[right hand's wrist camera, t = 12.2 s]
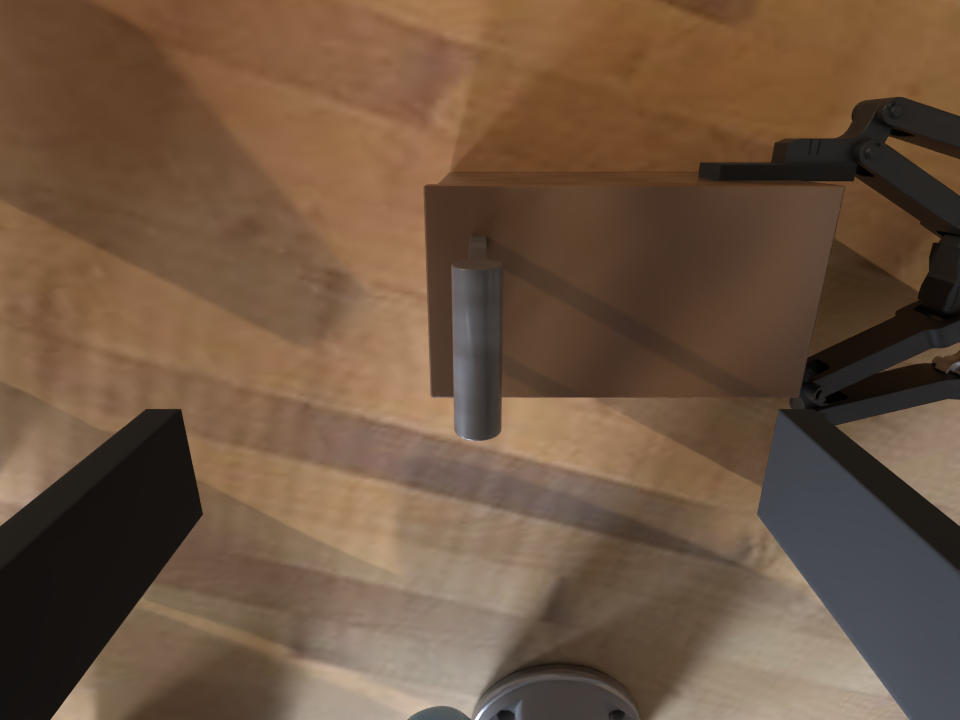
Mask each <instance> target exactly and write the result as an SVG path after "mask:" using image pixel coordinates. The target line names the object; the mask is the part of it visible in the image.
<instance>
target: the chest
mask: <svg viewBox="0 0 960 720" xmlns="http://www.w3.org/2000/svg"><path fill="white" fill-rule="evenodd" d="M698 176H699V172H449V174H448V175H447V176H446V177H445V178H444V179H443V180H442V181H441V182H440V183H439V184H824V183H816V182H807V181H799V180H712V179H706V178H700V177H698Z"/></svg>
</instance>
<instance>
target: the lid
mask: <svg viewBox="0 0 960 720" xmlns="http://www.w3.org/2000/svg"><path fill="white" fill-rule="evenodd" d="M844 190H845V187H844V186H840V185H832V184H427V185H425V186H424V215H425V244H426V273H427V303H428V332H429V361H430V390H431V397H454V430H455V432H456V434H457V435H458V436H460V437H461V438H464V439H467V440H473V441H482V440H488V439H492V438H494V437H496V436H497V435H498V434H499V433H500V432H501V411H502V397H637V398H798V397H799V394H800V389H801V385H802V380H803V376H804V371H805V367H806V362H807V358H808V353H809V349H810V344H811V340H812V335H813V330H814V326H815V321H816V317H817V312H818V308H819V303H820V299H821V294H822V290H823V285H824V281H825V276H826V271H827V267H828V262H829V258H830V253H831V249H832V244H833V240H834V235H835V231H836V226H837V221H838V217H839V212H840V208H841V203H842V199H843V194H844Z"/></svg>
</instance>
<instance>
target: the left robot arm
mask: <svg viewBox="0 0 960 720" xmlns="http://www.w3.org/2000/svg"><path fill="white" fill-rule="evenodd" d="M888 136H890V137H893V138H896V139H900V140H903V141H906V142H909V143H912V144H915V145H918V146H921V147H924V148H927V149H930V150H933V151H936V152H939V153H942V154H946V155H949V156H952V157H955V158H958V159H960V116H957V115H954V114H951V113H948V112H945V111H942V110H939V109H936V108H933V107H930V106H927V105H924V104H921V103H918V102H915V101H912V100H909V99H906V98H903V97H893V98H884V99H874V100H865V101H862V102H860V103H858V104H857V105H856V106H855V108H854V109H853V111H852V123H851V125H850V127H849V128H848V130H847V131H846V132H845V133H844V134H843V135H842V136H840V137H838V138H834V139H783V140H781V141H778V142H776V143H775V144H774V150H773V156H772V162H771V163H703V162H700V168H699V176H698V177H700V178H706V179H712V180H799V181H854V177H857V178H858V179H860V180H861V181H862V182H864V183H865V184H867V185H868V186H870V187H871V188H873V189H874V190H876V191H877V192H879V193H880V194H882V195H883V196H884V197H886V198H887V199H889V200H890V201H892V202H893V203H895V204H896V205H898V206H899V207H901V208H902V209H904V210H905V211H906V212H908V213H909V214H911V215H912V216H914V217H915V218H917V219H918V220H920V221H921V223H920V224H921V225H922V226H924V227H925V228H927V229H928V230H929V231H931V232H932V233H934V234H935V235H937V236H938V237H940V238H941V240H940V241H939V243H933V245H932V249H931V253H930V256H929V272H928V274H927V276H926V278H925V279H924V281H923V283H922V285H921V288H920V291H919V295H918V298H917V299H920V300H918V301H916V302H914V303H912V304H909V305H907V306H905V307H903V308H901V309H899V310H898V311H896V315H895V317H893V318H891V319H889V320H887V321H885V322H883V323H880V324H878V325H876V326H874V327H872V328H870V329H868V330H866V331H864V332H861V333H859V334H857V335H855V336H853V337H851V338H849V339H847V340H844V341H842V342H840V343H838V344H836V345H834V346H832V347H830V348H827V349H825V350H823V351H821V352H819V353H817V354H815V355H813V356H811V357H808V358H807V362H806V367H805V371H804V376H803V380H802V385H801V389H800V394H799V397H798V398H791V399H790V402H789V404H790V407H791V408H792V409H814V410H815V411H817V412H818V413H819V414H820V415H822V416H823V417H824V418H825V419H827V420H828V421H829V422H830V423H832V424H833V425H839V424H843V423H847V422H851V421H856V420H860V419H864V418H868V417H873V416H877V415H881V414H885V413H890V412H894V411H898V410H902V409H907V408H911V407H915V406H919V405H924V404H928V403H932V402H936V401H941V400H945V399H959V400H960V350H959V351H958V352H957V353H956V354H953V355H949V356H945V357H941V356H937V357H935V358H934V359H933V360H932V364H927V363H924V364H915V365H910V366H905V367H901V368H897V369H893V370H889V371H885V372H881V373H878V372H880V371H882V370H885V369H887V368H889V367H891V366H893V365H896V364H898V363H900V362H902V361H904V360H906V359H909V358H911V357H913V356H915V355H917V354H920V353H922V352H924V351H926V350H928V349H931V348H945V347H949V346H951V345H953V344H956V343H958V342H960V196H959V195H958V194H956V193H955V192H954V191H952V190H951V189H949V188H948V187H946V186H945V185H944V184H942V183H941V182H939V181H938V180H936V179H935V178H934V177H932V176H931V175H929V174H928V173H927V172H925V171H924V170H922V169H921V168H919V167H918V166H917V165H915V164H914V163H912V162H911V161H909V160H908V159H907V158H905V157H904V156H902V155H901V154H900V153H898V152H897V151H895V150H894V149H892V148H891V147H890V146H888V145H887V144H885V141H886V139H887V138H888ZM408 720H640V717H639V714H638V710H637V707H636V704H635V702H634V700H633V698H632V697H631V695H630V694H629V693H628V691H627V690H626V689H625V688H624V687H623V686H622V685H621V684H619V683H618V682H617V681H615V680H614V679H612V678H611V677H609V676H607V675H605V674H603V673H601V672H598V671H596V670H593V669H589V668H586V667H581V666H576V665H565V664H553V665H542V666H536V667H531V668H528V669H524V670H521V671H518V672H516V673H513V674H511V675H509V676H507V677H505V678H503V679H502V680H500V681H499V682H497V683H496V684H494V685H493V686H492V687H491V688H489V689H488V690H487V691H486V692H485V694H484V695H483V696H482V697H481V698H480V700H479V701H478V703H477V705H476V707H475V709H474V712H473V715H472V719H470V718H469V717H467V716H466V715H465V714H464V713H462V712H461V711H459V710H457V709H455V708H452V707H447V706H436V707H431V708H427V709H425V710H422V711H420V712H417V713H416V714H414V715H413V716H411V717H410V718H409V719H408Z"/></svg>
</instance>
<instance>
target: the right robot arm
mask: <svg viewBox="0 0 960 720" xmlns="http://www.w3.org/2000/svg"><path fill="white" fill-rule="evenodd" d="M202 515H203V512H202V507H201V502H200V498H199V493H198V488H197V483H196V478H195V474H194V469H193V464H192V459H191V454H190V450H189V445H188V440H187V435H186V430H185V426H184V421H183V416H182V411H181V409H146V410H145V411H143V412H142V413H141V414H140V415H138V416H137V417H136V418H135V419H133V420H132V421H131V422H130V423H128V424H127V425H126V426H125V427H123V428H122V429H121V430H120V431H118V432H117V433H116V434H115V435H113V436H112V437H111V438H110V439H108V440H107V441H106V442H105V443H103V444H102V445H101V446H100V447H98V448H97V449H96V450H95V451H93V452H92V453H91V454H90V455H89V456H87V457H86V458H85V459H84V460H82V461H81V462H80V463H79V464H77V465H76V466H75V467H74V468H72V469H71V470H70V471H69V472H67V473H66V474H65V475H64V476H62V477H61V478H60V479H59V480H57V481H56V482H55V483H54V484H52V485H51V486H50V487H49V488H47V489H46V490H45V491H44V492H42V493H41V494H40V495H39V496H37V497H36V498H35V499H34V500H32V501H31V502H30V503H29V504H27V505H26V506H25V507H24V508H23V509H21V510H20V511H19V512H18V513H16V514H15V515H14V516H13V517H11V518H10V519H9V520H8V521H6V522H5V523H4V524H3V525H1V526H0V720H51V718H52V717H53V716H54V714H55V713H56V711H57V710H58V709H59V707H60V706H61V705H62V703H63V702H64V701H65V699H66V698H67V697H68V695H69V694H70V693H71V691H72V690H73V689H74V687H75V686H76V685H77V683H78V682H79V681H80V679H81V678H82V676H83V675H84V674H85V672H86V671H87V670H88V668H89V667H90V666H91V664H92V663H93V662H94V660H95V659H96V658H97V656H98V655H99V654H100V652H101V651H102V650H103V648H104V647H105V645H106V644H107V643H108V641H109V640H110V639H111V637H112V636H113V635H114V633H115V632H116V631H117V629H118V628H119V627H120V625H121V624H122V623H123V621H124V620H125V619H126V617H127V616H128V615H129V613H130V612H131V610H132V609H133V608H134V606H135V605H136V604H137V602H138V601H139V600H140V598H141V597H142V596H143V594H144V593H145V592H146V590H147V589H148V588H149V586H150V585H151V584H152V582H153V581H154V580H155V578H156V577H157V575H158V574H159V573H160V571H161V570H162V569H163V567H164V566H165V565H166V563H167V562H168V561H169V559H170V558H171V557H172V555H173V554H174V553H175V551H176V550H177V549H178V547H179V546H180V544H181V543H182V542H183V540H184V539H185V538H186V536H187V535H188V534H189V532H190V531H191V530H192V528H193V527H194V526H195V524H196V523H197V522H198V520H199V519H200V518H201V516H202ZM757 515H758V516H759V518H760V519H761V520H762V522H763V523H764V524H765V526H766V527H767V528H768V530H769V531H770V532H771V534H772V535H773V536H774V538H775V539H776V540H777V542H778V543H779V544H780V546H781V547H782V549H783V550H784V551H785V553H786V554H787V555H788V557H789V558H790V559H791V561H792V562H793V563H794V565H795V566H796V567H797V569H798V570H799V571H800V573H801V574H802V575H803V577H804V578H805V580H806V581H807V582H808V584H809V585H810V586H811V588H812V589H813V590H814V592H815V593H816V594H817V596H818V597H819V598H820V600H821V601H822V602H823V604H824V605H825V606H826V608H827V609H828V610H829V612H830V613H831V615H832V616H833V617H834V619H835V620H836V621H837V623H838V624H839V625H840V627H841V628H842V629H843V631H844V632H845V633H846V635H847V636H848V637H849V639H850V640H851V641H852V643H853V644H854V645H855V647H856V648H857V650H858V651H859V652H860V654H861V655H862V656H863V658H864V659H865V660H866V662H867V663H868V664H869V666H870V667H871V668H872V670H873V671H874V672H875V674H876V675H877V676H878V678H879V679H880V681H881V682H882V683H883V685H884V686H885V687H886V689H887V690H888V691H889V693H890V694H891V695H892V697H893V698H894V699H895V701H896V702H897V703H898V705H899V706H900V707H901V709H902V710H903V711H904V713H905V714H906V716H907V717H908V718H909V720H960V526H959V525H957V524H956V523H955V522H954V521H952V520H951V519H950V518H949V517H947V516H946V515H945V514H944V513H942V512H941V511H940V510H939V509H937V508H936V507H935V506H934V505H933V504H931V503H930V502H929V501H928V500H926V499H925V498H924V497H923V496H921V495H920V494H919V493H918V492H916V491H915V490H914V489H913V488H911V487H910V486H909V485H908V484H906V483H905V482H904V481H903V480H901V479H900V478H899V477H898V476H896V475H895V474H894V473H893V472H891V471H890V470H889V469H888V468H886V467H885V466H884V465H883V464H881V463H880V462H879V461H878V460H876V459H875V458H874V457H873V456H871V455H870V454H869V453H868V452H867V451H865V450H864V449H863V448H862V447H860V446H859V445H858V444H857V443H855V442H854V441H853V440H852V439H850V438H849V437H848V436H847V435H845V434H844V433H843V432H842V431H840V430H839V429H838V428H837V427H835V426H834V425H833V424H832V423H830V422H829V421H828V420H827V419H825V418H824V417H823V416H822V415H820V414H819V413H818V412H817V411H815V410H814V409H779V411H778V416H777V421H776V426H775V430H774V435H773V440H772V445H771V450H770V454H769V459H768V464H767V469H766V474H765V478H764V483H763V488H762V493H761V498H760V502H759V507H758V512H757Z"/></svg>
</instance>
